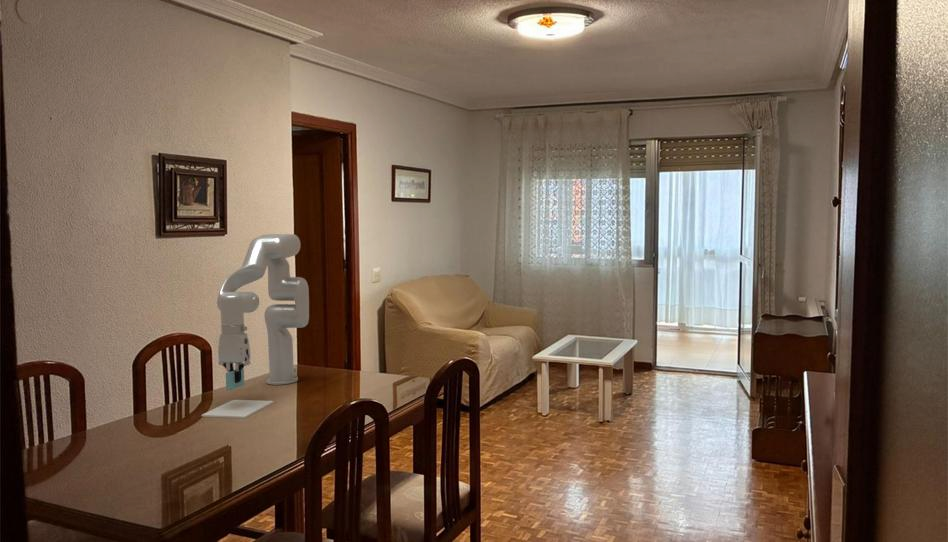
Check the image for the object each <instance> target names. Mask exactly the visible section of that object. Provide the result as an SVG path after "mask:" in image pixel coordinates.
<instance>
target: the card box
mask: <svg viewBox="0 0 948 542" xmlns="http://www.w3.org/2000/svg"><path fill="white" fill-rule="evenodd" d="M234 372H235V369H234V370H233V371H230V372H228V371H226V372H225V391H233V390H235V389H238V388H241V387H244V386H245V369H244V368H243V369H242V370H241V381H240V382H238V383H235V373H234Z"/></svg>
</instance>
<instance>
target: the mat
mask: <svg viewBox="0 0 948 542" xmlns="http://www.w3.org/2000/svg"><path fill="white" fill-rule="evenodd" d="M274 403H275V401H273V400H253V399H252V400H250V399H247V400H246V399H232V400H229V401H227V402H225V403H224V404H221V405H219V406H217V407H215V408H213V409H211V410H208V411H207V412H205V413H202V414H201V417H203V418H225V419H226V418H227V419H230V418H231V419H246V418H249V417H250V416H252V415H254V414H256V413H257V412H260V411H262V410H263V409H265V408H267V407H268V406H270V405H273V404H274Z"/></svg>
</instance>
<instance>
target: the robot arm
mask: <svg viewBox="0 0 948 542" xmlns="http://www.w3.org/2000/svg"><path fill="white" fill-rule="evenodd" d="M300 250H301V240H300V238H299V236H298V235H296V234H294V233H285V234H284V233H281V234H280V233H279V234H278V233H277V234H274V233H271V234H262V235H260V236H257V237H255V238H253V239H252V240H250V243H249V245H248V249H247V250H246V254H245V257H244V260H243V263H242V265H241V267H239V268H238V269H237V270H235V271H233V272H232V274H230V275H229V276H228V277H227V278H226V279H225V280H224V281H223V283H222V284H221V287H220V290H219V292H218V294H217V295H218V296H217V302H216V304H217V308H218V309H219V311H220V325H221V326H220V328H221V329H220V330H221V333H220V334H219V339H218V350H217V353H218V355H217V356H218V357H217V358H218V362H217V363H218V365H219V366H223V367H224V368H225V369H226V372H230V371H233V370H235V372H234V373H235V383H238V382H240V381H241V370H242V369H243V368H244V367H246V366H249V365H251V361H250V360H251V346H250V341H249V337H248V334H247V332H245V331H247V330H248V327H247V326H245V315H244V314H246V313H247V314H249V313H250V314H251V313H254V312H255V311H256V310H257V309H258V308H259V306H260V298H259V296H258V295H257V294H256V293H255V292H252V291H238V290H239V289H240V288H242V287H243V286H245V285H249V284H251V283H254V282H255V281H258V280H260V279H262V278H263V277H264V275H265V273H266V270H267V285H268V286H267V290H268V291H267V292H268V297H269V299H270V300H272V301H275V302H276V301H277V302H278V301H279V302H282V301H284V302H286V301H287V302H292V301H293V302H294V303H277V304H272V305H269V306H267V307H266V308H265V310H264V315H263V316H264V323H265V326H266V331H267V344H268V349H267V350H268V368H269V377H268V378H266V380H265V383H266V384H267V385H272V386H277V385H278V386H279V385H280V386H282V385H283V386H284V385H289V384H294V383H296V382H298V380H299V378H298V376H296V375H295V373H297V371H298V368H297V367H294V345H293V337H292V334H291V332H290V331H289V330H288V329H297V328H298V329H299V328H300V329H301V328H305V327H306V326H307V325H308V324H309V320H310V296H309V295H310V294H309V293H310V291H309V289H310V288H309V285H308V281H307V280H306V279H305V278H304V277H301V276H292V277H291V273H290V272H291V271H290V270H291V269H290V264H289V261H288V259H287V258H290V257H291V258H292V257H294V256H297V255H298V253H299V252H300ZM234 365H235V366H234ZM234 367H235V368H234Z"/></svg>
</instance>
